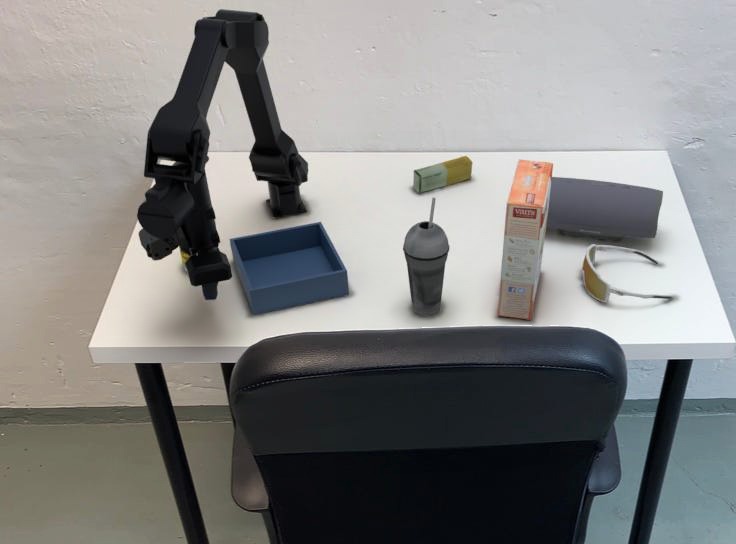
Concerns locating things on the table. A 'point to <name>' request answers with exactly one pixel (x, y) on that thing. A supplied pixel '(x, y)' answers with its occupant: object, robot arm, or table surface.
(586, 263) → the sunglasses
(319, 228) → the storage box
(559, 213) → the bluetooth speaker
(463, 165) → the medication box
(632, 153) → the table surface
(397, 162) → the table surface
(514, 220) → the cracker box
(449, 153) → the table surface
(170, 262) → the table surface
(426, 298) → the beverage cup
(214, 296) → the eraser
